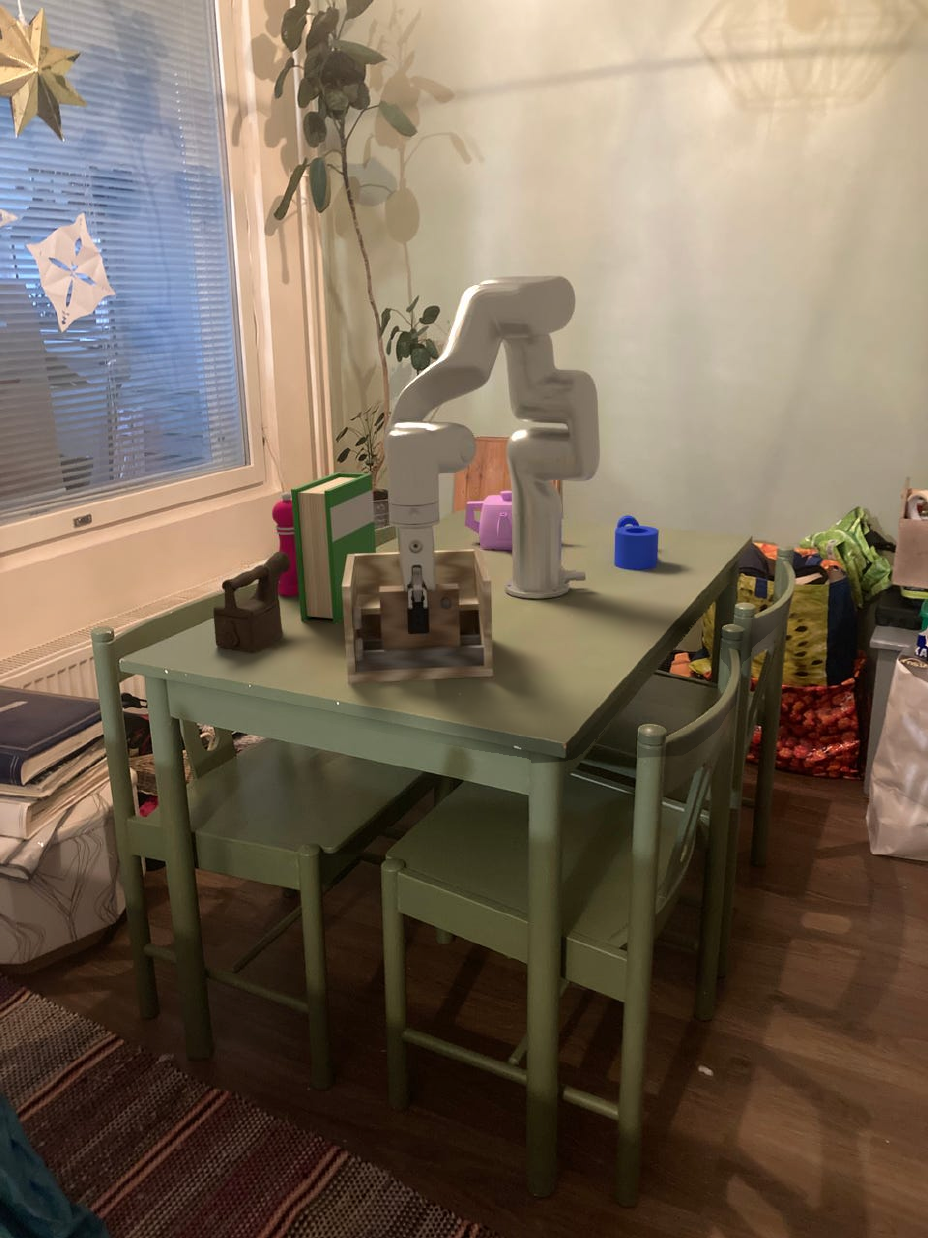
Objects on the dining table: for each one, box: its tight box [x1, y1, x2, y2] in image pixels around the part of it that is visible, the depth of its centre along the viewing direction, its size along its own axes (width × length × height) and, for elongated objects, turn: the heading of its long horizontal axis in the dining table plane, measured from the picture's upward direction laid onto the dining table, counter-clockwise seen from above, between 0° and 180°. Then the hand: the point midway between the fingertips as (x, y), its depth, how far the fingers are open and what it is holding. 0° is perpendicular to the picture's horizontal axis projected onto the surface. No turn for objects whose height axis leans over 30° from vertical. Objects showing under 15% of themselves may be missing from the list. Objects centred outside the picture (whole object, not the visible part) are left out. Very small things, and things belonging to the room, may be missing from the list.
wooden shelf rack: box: [342, 548, 494, 684], centre depth 155 cm, size 22×19×15 cm
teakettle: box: [464, 490, 512, 551], centre depth 228 cm, size 17×17×12 cm
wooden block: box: [379, 583, 460, 650], centre depth 150 cm, size 12×4×12 cm, turn 94°
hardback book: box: [290, 471, 377, 625], centre depth 181 cm, size 18×7×24 cm, turn 161°
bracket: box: [613, 514, 659, 571], centre depth 213 cm, size 20×9×8 cm, turn 178°
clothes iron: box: [212, 550, 290, 653], centre depth 167 cm, size 8×16×13 cm, turn 154°
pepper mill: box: [271, 491, 299, 597], centre depth 192 cm, size 7×7×20 cm
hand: (417, 623), depth 150 cm, fingers open, 9 cm apart
